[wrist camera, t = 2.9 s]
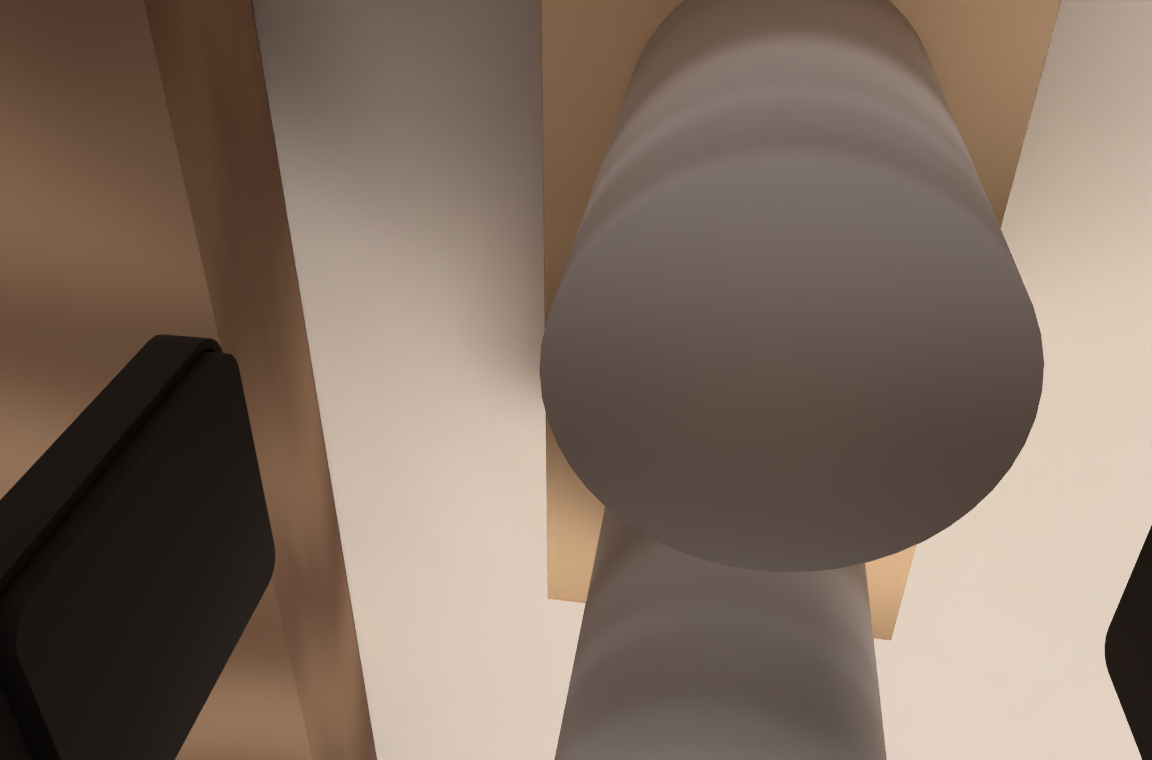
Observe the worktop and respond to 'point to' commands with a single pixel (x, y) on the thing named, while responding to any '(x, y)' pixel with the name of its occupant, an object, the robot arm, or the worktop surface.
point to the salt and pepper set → (771, 348)
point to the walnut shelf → (175, 310)
